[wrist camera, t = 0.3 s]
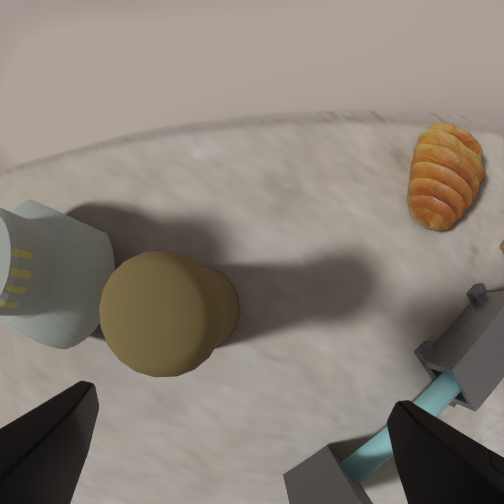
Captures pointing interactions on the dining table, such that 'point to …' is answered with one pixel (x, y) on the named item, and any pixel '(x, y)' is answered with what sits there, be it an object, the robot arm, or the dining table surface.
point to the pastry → (444, 176)
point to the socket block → (502, 246)
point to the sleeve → (471, 349)
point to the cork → (166, 313)
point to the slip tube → (357, 459)
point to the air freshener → (52, 274)
